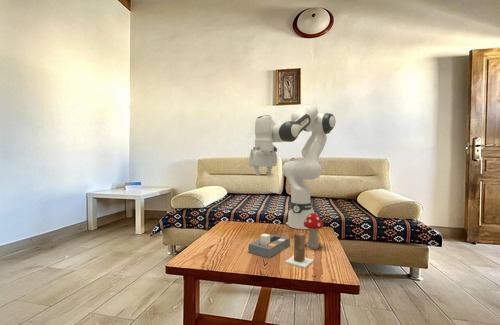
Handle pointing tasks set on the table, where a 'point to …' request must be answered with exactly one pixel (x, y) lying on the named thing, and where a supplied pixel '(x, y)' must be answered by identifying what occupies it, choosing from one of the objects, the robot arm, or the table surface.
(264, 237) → the switch tab
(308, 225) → the decorative mushroom
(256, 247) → the switch panel
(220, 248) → the table surface
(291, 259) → the pad
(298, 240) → the brown wooden beam
